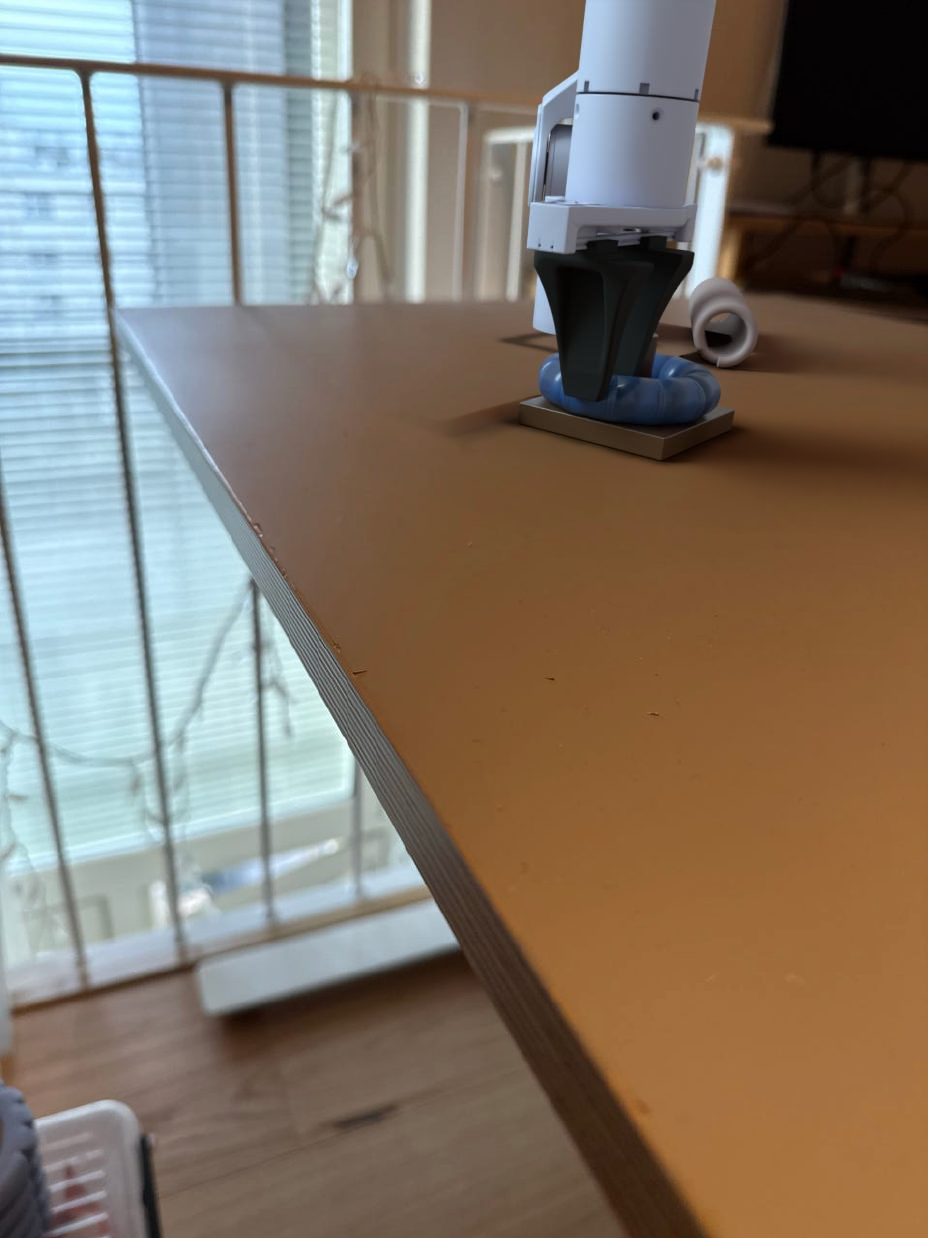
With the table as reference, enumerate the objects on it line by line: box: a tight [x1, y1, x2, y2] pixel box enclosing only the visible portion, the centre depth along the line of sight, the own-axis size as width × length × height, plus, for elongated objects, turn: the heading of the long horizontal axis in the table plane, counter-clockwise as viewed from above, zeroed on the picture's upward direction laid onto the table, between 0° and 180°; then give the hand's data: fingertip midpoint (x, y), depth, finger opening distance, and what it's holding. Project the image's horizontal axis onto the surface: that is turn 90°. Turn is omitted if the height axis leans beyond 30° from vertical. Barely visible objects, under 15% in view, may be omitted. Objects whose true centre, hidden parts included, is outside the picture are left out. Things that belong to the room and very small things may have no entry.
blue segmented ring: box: [538, 352, 722, 425], centre depth 52 cm, size 10×10×2 cm
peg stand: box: [517, 332, 736, 461], centre depth 52 cm, size 9×9×5 cm
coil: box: [687, 276, 759, 368], centre depth 77 cm, size 5×5×18 cm
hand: (598, 392), depth 49 cm, fingers open, 3 cm apart
